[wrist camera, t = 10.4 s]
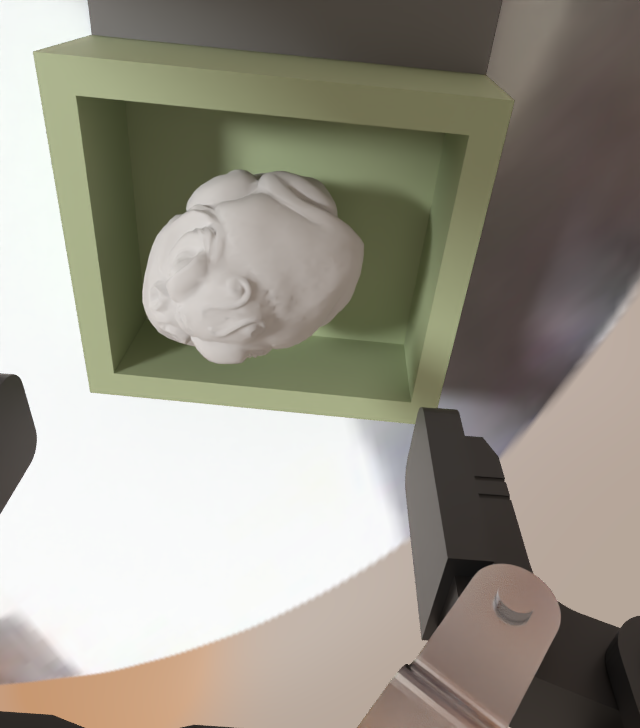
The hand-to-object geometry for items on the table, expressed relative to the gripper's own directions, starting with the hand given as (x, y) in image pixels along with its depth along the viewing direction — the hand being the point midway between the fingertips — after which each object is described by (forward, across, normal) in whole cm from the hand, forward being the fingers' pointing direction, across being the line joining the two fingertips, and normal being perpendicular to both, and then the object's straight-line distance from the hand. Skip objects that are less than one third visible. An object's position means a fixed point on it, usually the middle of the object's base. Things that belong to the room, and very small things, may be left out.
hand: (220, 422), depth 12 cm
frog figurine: (+12, 0, +1) cm, 12 cm away
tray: (+13, 0, -1) cm, 13 cm away
